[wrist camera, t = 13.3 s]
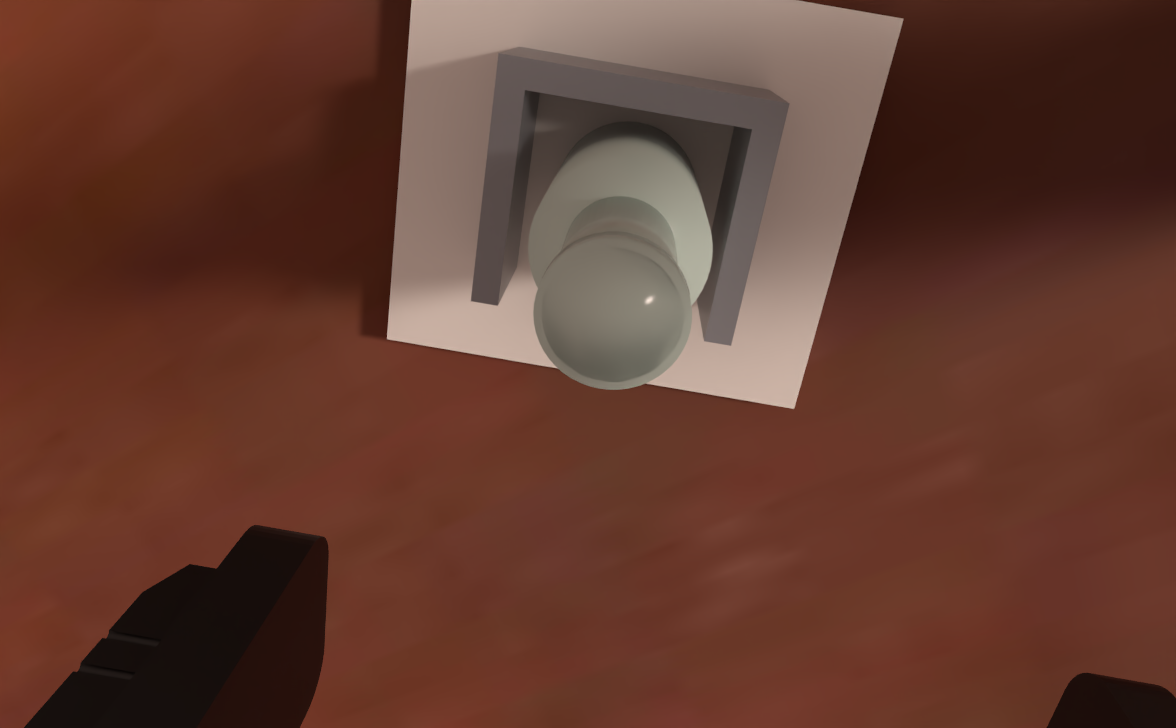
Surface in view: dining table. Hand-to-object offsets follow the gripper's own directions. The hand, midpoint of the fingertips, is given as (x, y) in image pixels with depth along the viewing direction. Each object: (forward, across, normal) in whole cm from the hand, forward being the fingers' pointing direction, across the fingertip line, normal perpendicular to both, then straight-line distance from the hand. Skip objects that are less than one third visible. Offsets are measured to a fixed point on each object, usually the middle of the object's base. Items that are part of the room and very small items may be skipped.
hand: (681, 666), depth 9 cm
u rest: (+28, +2, +1) cm, 28 cm away
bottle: (+27, +1, +1) cm, 27 cm away
